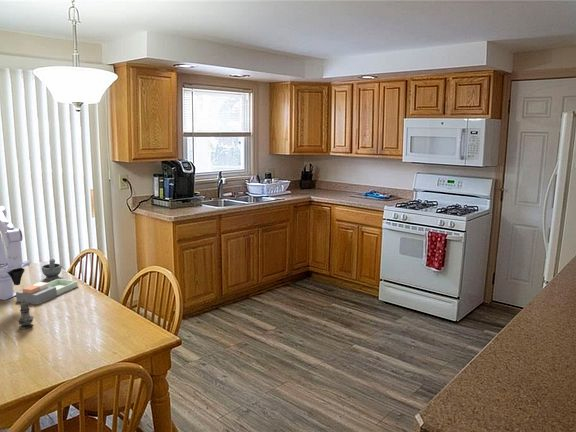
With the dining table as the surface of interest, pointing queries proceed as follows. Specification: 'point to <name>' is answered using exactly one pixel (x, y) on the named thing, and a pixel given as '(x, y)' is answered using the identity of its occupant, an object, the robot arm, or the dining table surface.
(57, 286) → the green bin
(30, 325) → the dark grey chess piece
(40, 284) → the cream tile
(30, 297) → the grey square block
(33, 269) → the dining table surface
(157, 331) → the dining table surface
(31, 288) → the terracotta tile
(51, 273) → the mortar and pestle
